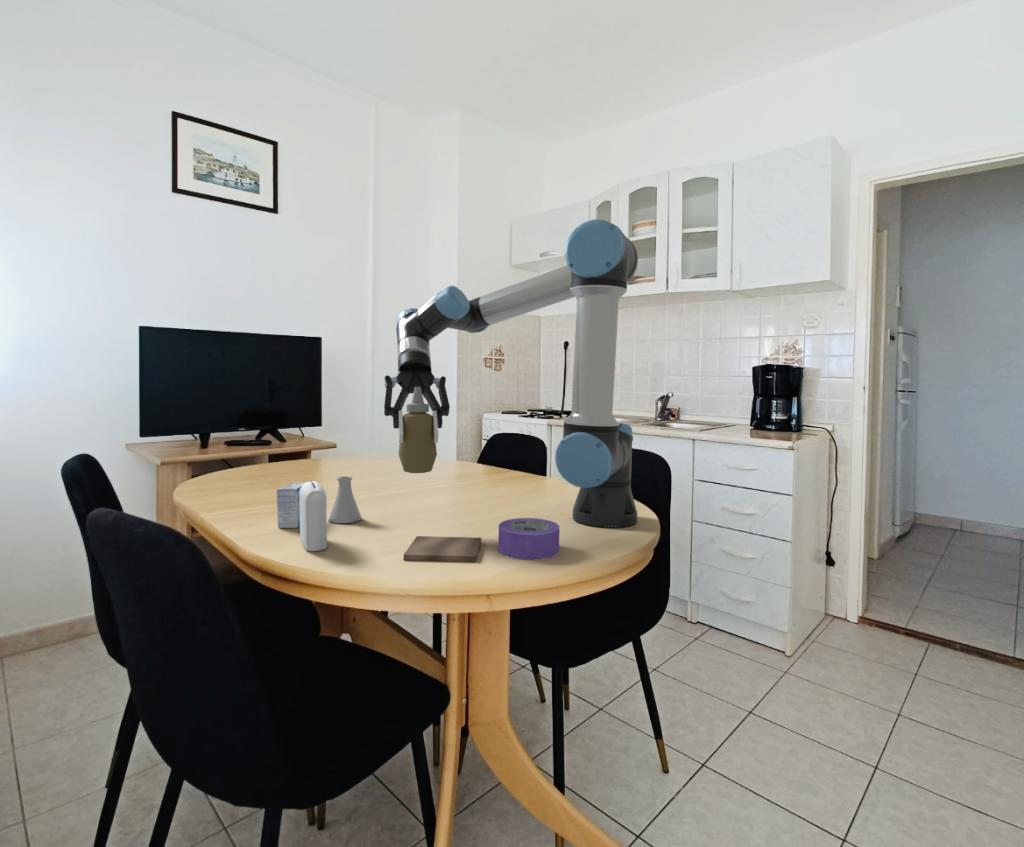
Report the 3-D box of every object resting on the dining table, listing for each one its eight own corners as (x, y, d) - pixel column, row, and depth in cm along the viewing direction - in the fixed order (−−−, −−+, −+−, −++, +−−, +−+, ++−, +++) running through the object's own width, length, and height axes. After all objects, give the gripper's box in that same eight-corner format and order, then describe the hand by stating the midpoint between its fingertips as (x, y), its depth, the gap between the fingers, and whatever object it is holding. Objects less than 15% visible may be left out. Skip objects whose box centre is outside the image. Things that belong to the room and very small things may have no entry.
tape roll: (556, 562, 101) (556, 535, 101) (492, 558, 103) (493, 531, 103) (561, 543, 113) (561, 519, 112) (504, 540, 115) (504, 516, 114)
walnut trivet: (481, 542, 112) (481, 537, 112) (475, 561, 100) (475, 556, 100) (416, 541, 112) (416, 536, 112) (403, 560, 101) (403, 554, 100)
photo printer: (298, 539, 113) (297, 478, 112) (320, 536, 115) (320, 477, 114) (305, 553, 103) (304, 487, 103) (329, 550, 105) (328, 485, 105)
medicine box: (297, 528, 120) (297, 489, 120) (276, 528, 120) (276, 488, 120) (311, 519, 128) (310, 482, 128) (291, 519, 128) (291, 482, 128)
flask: (352, 525, 124) (351, 480, 123) (322, 523, 125) (321, 479, 124) (366, 517, 131) (366, 475, 130) (338, 515, 132) (338, 474, 131)
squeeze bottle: (400, 468, 123) (400, 386, 121) (437, 468, 123) (438, 386, 122) (396, 474, 115) (395, 386, 113) (435, 474, 115) (435, 387, 114)
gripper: (454, 373, 135) (463, 449, 120) (371, 372, 130) (370, 450, 116) (457, 350, 129) (467, 426, 114) (370, 348, 125) (369, 427, 110)
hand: (418, 438), depth 115 cm, fingers closed on squeeze bottle, 6 cm apart
